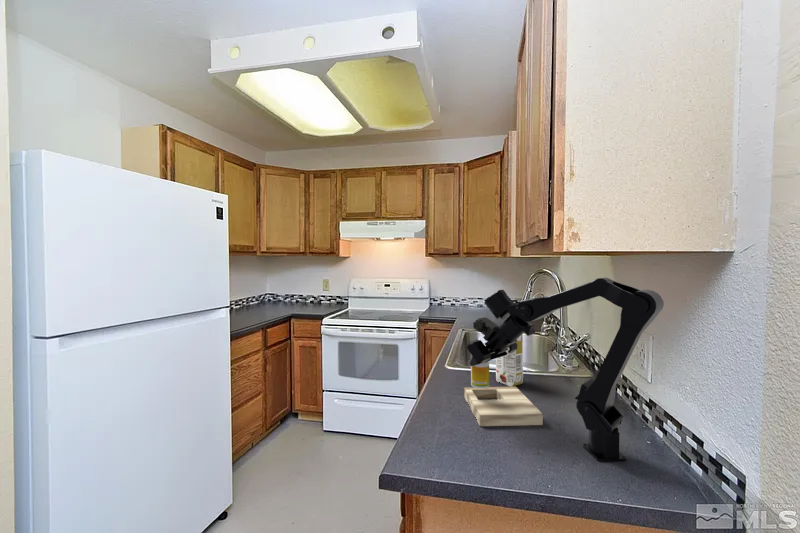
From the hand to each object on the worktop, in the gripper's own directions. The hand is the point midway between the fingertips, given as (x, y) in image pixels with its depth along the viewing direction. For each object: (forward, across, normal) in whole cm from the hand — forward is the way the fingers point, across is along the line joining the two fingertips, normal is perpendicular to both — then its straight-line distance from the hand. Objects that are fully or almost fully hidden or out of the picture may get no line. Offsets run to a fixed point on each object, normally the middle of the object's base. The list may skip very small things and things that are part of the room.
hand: (476, 362), depth 106 cm
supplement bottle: (+4, 0, +6) cm, 7 cm away
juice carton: (+12, -25, +7) cm, 29 cm away
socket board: (+5, -3, +14) cm, 15 cm away
